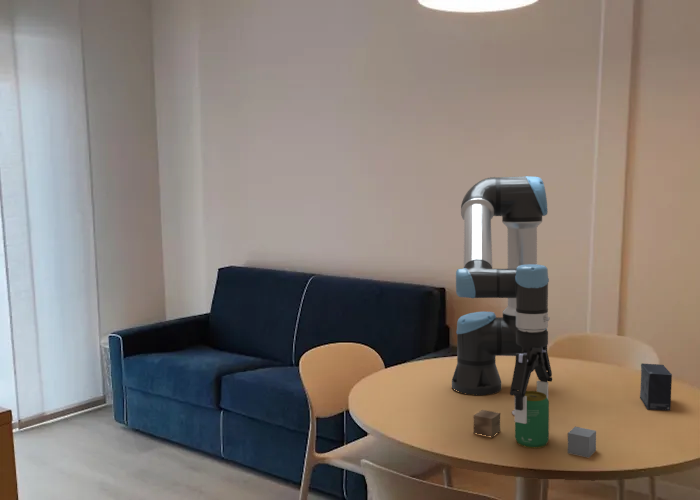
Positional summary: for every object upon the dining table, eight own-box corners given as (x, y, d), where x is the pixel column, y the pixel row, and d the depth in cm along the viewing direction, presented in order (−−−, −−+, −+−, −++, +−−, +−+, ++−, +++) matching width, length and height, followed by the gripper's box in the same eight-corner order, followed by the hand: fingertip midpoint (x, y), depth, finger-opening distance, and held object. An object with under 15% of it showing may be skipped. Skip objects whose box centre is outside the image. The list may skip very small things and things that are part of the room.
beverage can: (554, 441, 171) (554, 394, 170) (538, 451, 165) (538, 402, 164) (525, 434, 177) (525, 388, 175) (509, 443, 171) (508, 396, 169)
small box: (672, 411, 190) (673, 374, 189) (647, 410, 191) (647, 373, 190) (663, 399, 200) (664, 363, 199) (639, 398, 202) (639, 362, 201)
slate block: (567, 453, 164) (567, 432, 164) (575, 446, 168) (575, 426, 167) (588, 458, 161) (589, 437, 161) (595, 451, 165) (596, 430, 164)
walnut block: (473, 434, 178) (473, 415, 177) (482, 428, 182) (482, 409, 181) (491, 438, 175) (491, 418, 174) (500, 432, 179) (500, 413, 178)
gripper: (526, 340, 156) (526, 432, 158) (565, 321, 175) (565, 403, 177) (495, 336, 160) (495, 426, 162) (536, 318, 180) (536, 398, 182)
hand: (531, 414), depth 170 cm, fingers open, 13 cm apart
